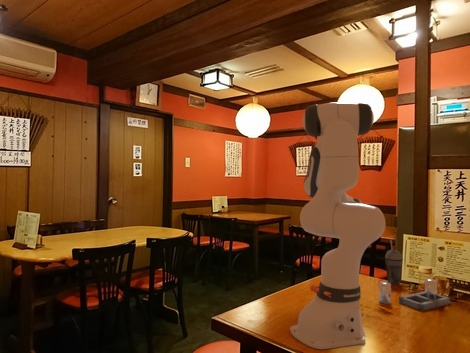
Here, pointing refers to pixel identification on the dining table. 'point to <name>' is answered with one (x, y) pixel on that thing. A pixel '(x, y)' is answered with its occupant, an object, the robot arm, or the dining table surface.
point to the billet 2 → (431, 288)
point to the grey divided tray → (423, 301)
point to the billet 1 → (384, 293)
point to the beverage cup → (393, 265)
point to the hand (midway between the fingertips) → (359, 231)
